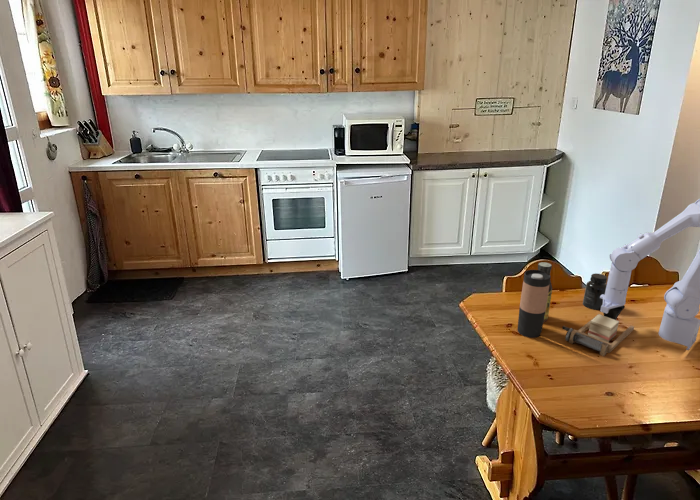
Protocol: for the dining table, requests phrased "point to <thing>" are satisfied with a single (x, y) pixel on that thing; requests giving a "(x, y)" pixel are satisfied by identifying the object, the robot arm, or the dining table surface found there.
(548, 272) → the sauce bottle
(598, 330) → the red striped cream box
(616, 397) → the dining table surface
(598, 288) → the supplement bottle
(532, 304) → the travel mug
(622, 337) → the bay
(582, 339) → the winch
